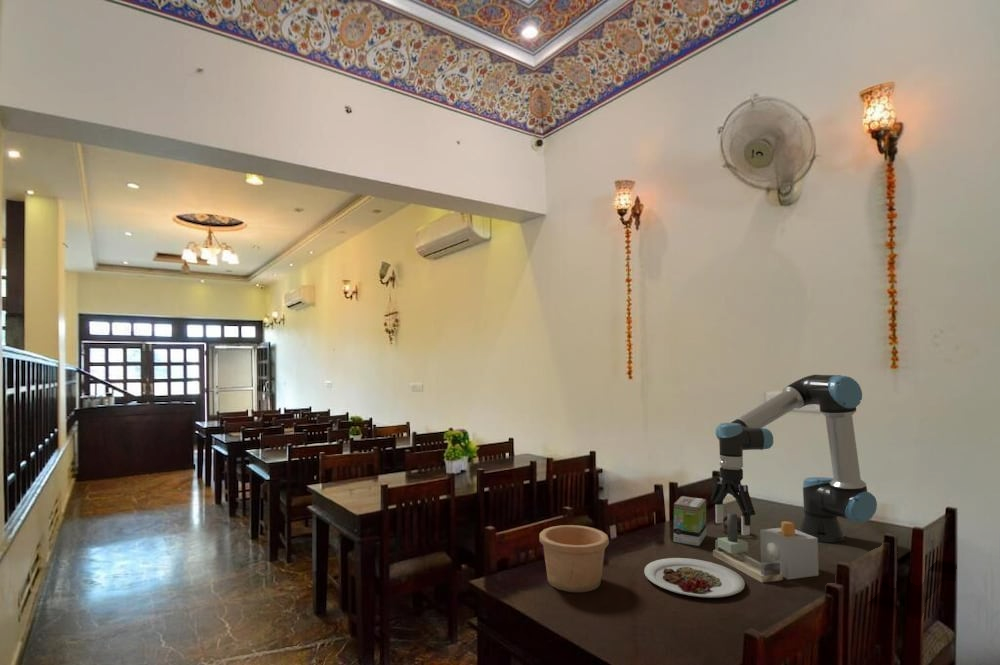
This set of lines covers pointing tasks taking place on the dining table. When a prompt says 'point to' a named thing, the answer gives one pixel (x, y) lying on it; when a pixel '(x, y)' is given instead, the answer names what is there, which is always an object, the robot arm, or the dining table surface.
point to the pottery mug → (724, 526)
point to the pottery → (574, 557)
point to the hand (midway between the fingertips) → (732, 528)
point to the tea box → (689, 520)
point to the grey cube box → (790, 552)
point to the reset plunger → (787, 528)
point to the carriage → (732, 537)
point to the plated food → (694, 577)
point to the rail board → (750, 565)
